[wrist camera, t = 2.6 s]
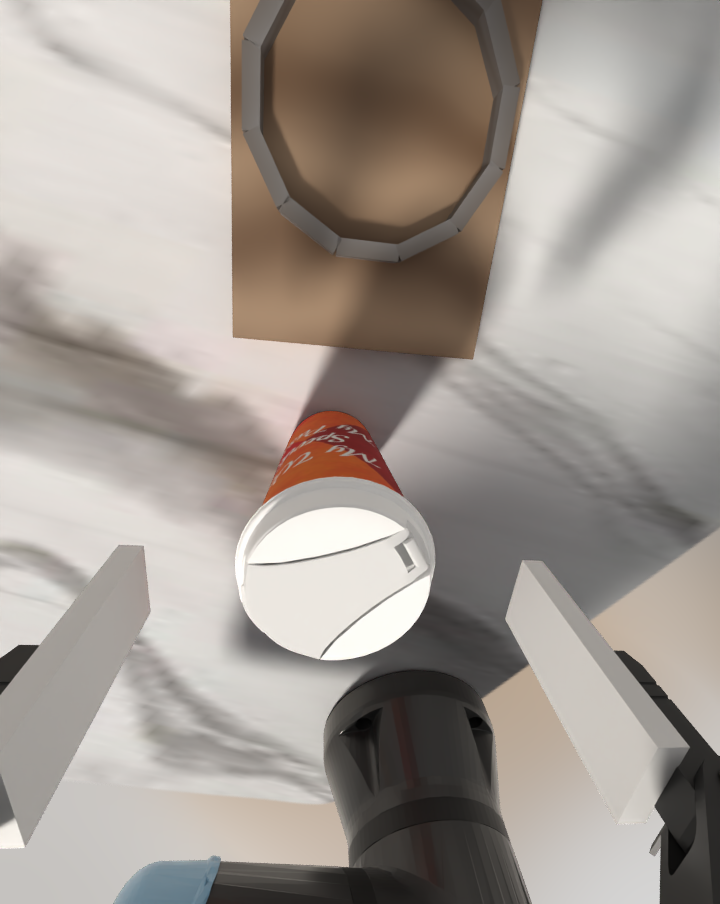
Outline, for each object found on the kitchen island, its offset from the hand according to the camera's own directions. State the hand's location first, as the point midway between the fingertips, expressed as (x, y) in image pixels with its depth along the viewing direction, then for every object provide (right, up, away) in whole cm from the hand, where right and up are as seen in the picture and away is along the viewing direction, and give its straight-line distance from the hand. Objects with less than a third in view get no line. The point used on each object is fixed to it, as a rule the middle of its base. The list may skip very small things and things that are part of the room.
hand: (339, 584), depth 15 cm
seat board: (+2, +21, +7) cm, 23 cm away
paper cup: (-1, +5, +13) cm, 14 cm away
